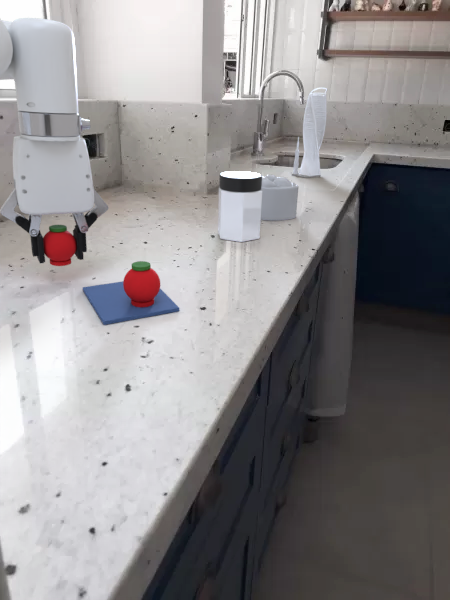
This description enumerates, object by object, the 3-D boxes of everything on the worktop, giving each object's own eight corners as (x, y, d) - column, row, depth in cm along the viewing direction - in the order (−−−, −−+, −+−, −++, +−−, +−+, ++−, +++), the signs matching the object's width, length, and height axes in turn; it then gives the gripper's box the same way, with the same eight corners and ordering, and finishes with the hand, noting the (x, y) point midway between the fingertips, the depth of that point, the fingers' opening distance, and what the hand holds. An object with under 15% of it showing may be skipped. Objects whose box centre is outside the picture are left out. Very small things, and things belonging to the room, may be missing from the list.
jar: (266, 234, 98) (270, 173, 93) (252, 244, 91) (255, 180, 86) (226, 228, 101) (227, 169, 96) (209, 237, 94) (210, 175, 90)
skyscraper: (307, 173, 172) (316, 87, 160) (325, 176, 166) (335, 87, 155) (291, 175, 167) (298, 86, 155) (309, 178, 161) (318, 87, 150)
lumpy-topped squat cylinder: (244, 207, 119) (245, 172, 115) (297, 211, 117) (300, 175, 113) (237, 217, 109) (238, 179, 106) (294, 222, 107) (297, 182, 104)
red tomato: (46, 269, 68) (42, 232, 66) (41, 259, 72) (37, 223, 70) (80, 266, 70) (78, 229, 68) (74, 256, 74) (71, 221, 72)
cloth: (103, 325, 59) (103, 321, 59) (82, 290, 69) (82, 287, 69) (179, 311, 63) (179, 307, 63) (149, 280, 73) (149, 277, 73)
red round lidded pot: (130, 312, 61) (128, 272, 59) (120, 299, 65) (117, 260, 63) (166, 306, 63) (165, 267, 61) (153, 293, 67) (152, 256, 65)
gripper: (106, 126, 70) (111, 246, 77) (-23, 123, 63) (-5, 256, 70) (121, 131, 64) (124, 261, 71) (-21, 127, 57) (-1, 273, 64)
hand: (60, 257), depth 71 cm, fingers closed on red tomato, 4 cm apart
